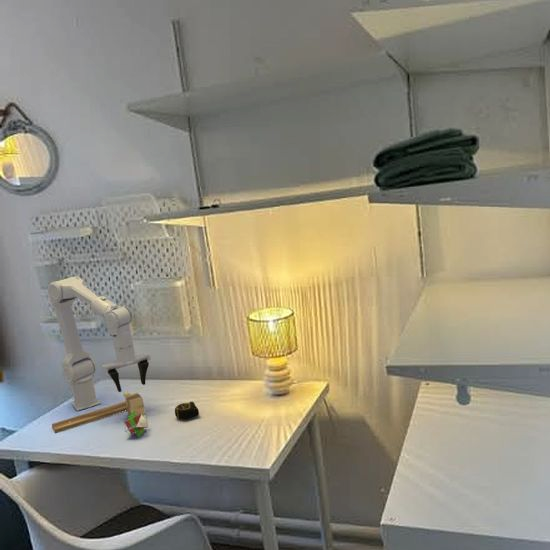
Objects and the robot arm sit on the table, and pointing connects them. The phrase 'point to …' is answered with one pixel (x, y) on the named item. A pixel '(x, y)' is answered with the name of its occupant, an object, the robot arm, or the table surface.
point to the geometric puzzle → (136, 424)
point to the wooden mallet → (134, 403)
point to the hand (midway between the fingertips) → (131, 387)
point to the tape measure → (186, 411)
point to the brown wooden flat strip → (89, 417)
